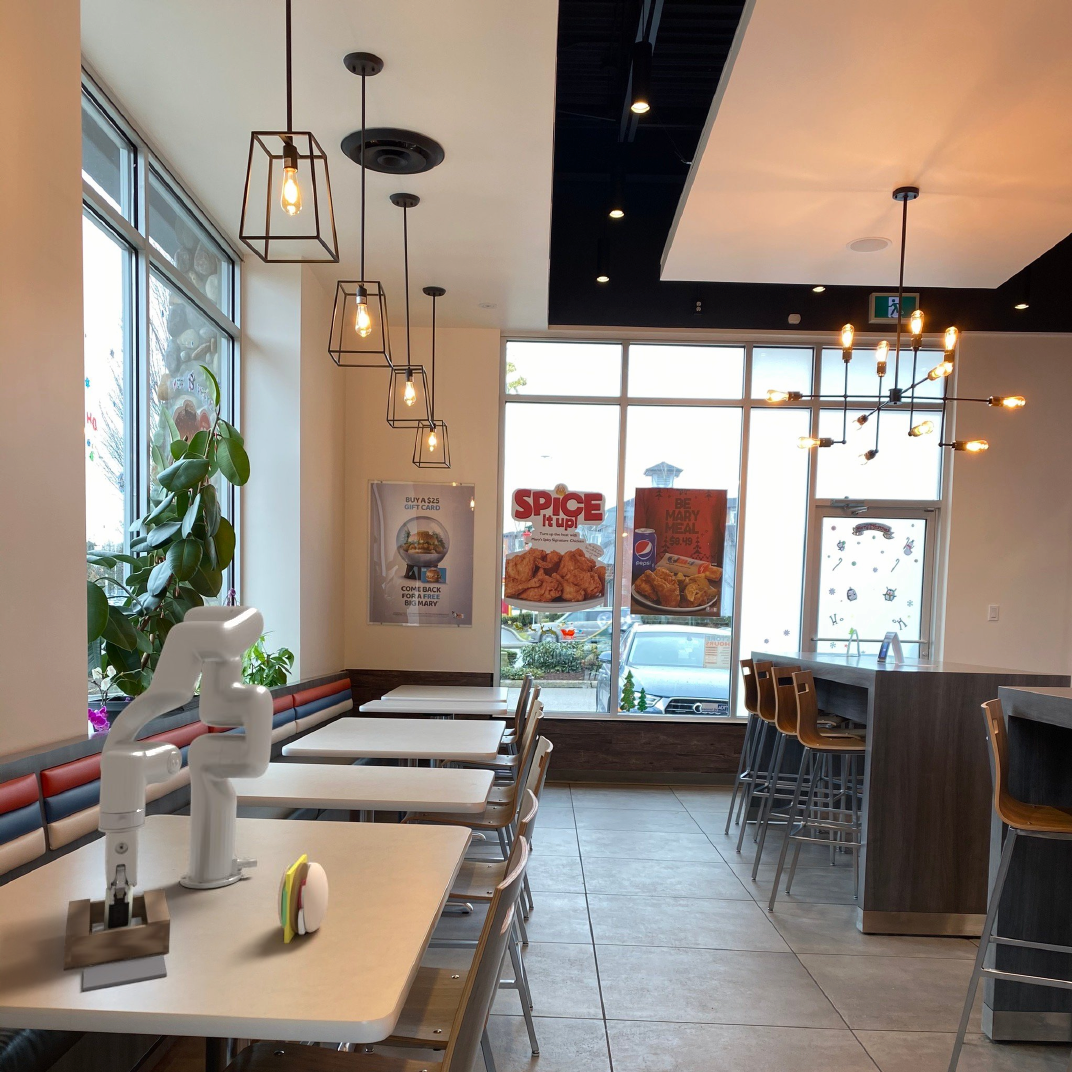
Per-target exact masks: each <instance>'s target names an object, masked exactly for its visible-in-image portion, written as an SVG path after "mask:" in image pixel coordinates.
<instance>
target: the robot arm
mask: <svg viewBox="0 0 1072 1072" xmlns="http://www.w3.org/2000/svg"><path fill="white" fill-rule="evenodd" d="M264 621H265V620H264V617H263V615H262V613H261V611H260V610H259V609H258V608H256V607H254V606H246V605H202V606H195V607H192V608H190V609H188V610H187V611H186V612H185V614H184V617H183V622H179V623H176V624H175V625H173V626H172V627H171V628H170V630H169V631H168V634H167V635H166V638H165V641H164V644H163V646H162V650H161V652H160V656H159V658H158V660H157V664H156V667H155V669H154V672H153V675H152V678H151V681H150V684H149V686H148V687H147V689H145V690H144V691H143V692H142V693H141V694H140V695H137V696H136V697H135V698H134V699H133V700H132V701H131V702H130V703H129V704H128V705H126V706H125V707H124V709H123V710H122V711H121V712H120V713H119V714H118V715H117V717H116V718H115V719H114V721H113V723H112V724H111V726H110V730H109V732H108V733H107V737H106V740H105V742H104V744H103V748H102V751H101V755H100V762H99V766H100V767H99V768H100V790H99V808H98V809H99V811H98V829H97V830H98V831H99V832H102V833H105V843H104V845H105V847H104V865H105V866H104V868H105V869H104V870H105V880H106V881H105V882H106V888H108V889H109V890H111V904H109V913H108V928H109V929H112V928H119V927H126V926H128V922H129V902H128V888H129V885H130V886H131V885H133V888H135V887H136V886H137V885H138V866H139V865H138V862H139V830H140V829H142V828H144V827H145V823H146V801H147V800H146V798H147V786H148V785H153V784H161V783H165V782H168V781H170V780H171V779H173V778H174V777H175V776H176V775H178V773H179V772H180V770H181V767H182V764H183V763H182V762H183V756H182V752H181V750H180V749H179V748H178V746H176V745H175V744H173V743H170V742H166V741H165V742H164V741H162V742H161V741H146V740H145V741H144V740H143V741H140V740H139V741H137V740H136V741H135V738H136V736H137V735H138V733H139V731H140V730H141V729H142V728H143V727H144V726H145V725H147V724H148V723H149V722H150V721H151V720H154V719H155V718H157V717H159V716H161V715H163V714H166V713H168V712H170V711H172V710H176V709H177V708H180V707H182V706H184V705H186V704H188V703H189V702H190V701H191V700H192V699H193V697H194V695H195V692H196V689H197V685H198V683H199V679H200V687H199V688H200V690H199V691H200V693H199V704H198V705H199V707H198V715H199V719H200V721H201V723H203V724H204V725H205V726H208V727H214V728H243V729H244V732H245V733H230V732H229V733H228V732H223V733H222V732H213V733H212V732H211V733H204V734H201V735H199V736H197V737H195V738H194V739H193V740H192V741H191V743H190V745H189V747H188V750H187V766H188V770H189V771H188V772H189V778H190V820H189V821H190V823H189V842H188V843H189V844H188V845H189V849H188V870H187V872H184V873H183V874H181V876H180V878H179V882H180V885H182V886H183V887H186V888H189V889H203V890H204V889H214V888H221V887H225V886H228V885H231V884H234V883H236V882H238V881H239V880H240V879H241V878H242V876H243V875H242V874H243V873H242V872H243V871H242V870H243V869H246V868H247V869H250V868H257V867H258V859H257V857H252V858H250V857H249V856H246V857H240V858H239V857H238V856H237V854H236V834H237V833H236V830H237V807H238V803H237V801H238V798H237V796H238V795H237V793H236V790H235V787H234V786H233V784H232V782H231V780H230V779H256V778H259V777H260V778H261V777H262V776H264V774H266V772H267V770H268V767H269V764H270V760H271V752H272V750H271V749H272V737H273V720H274V702H273V701H274V700H273V697H272V694H271V691H270V690H269V689H268V688H267V687H266V686H264V685H262V684H257V683H256V684H254V683H251V684H249V683H246V684H245V683H243V682H242V672H243V671H242V670H243V661H242V658H241V655H243V654H244V653H245V652H246V651H248V650H249V649H250V648H251V647H253V646H254V645H256V643H257V642H258V641H259V639H260V638H261V637H262V634H263V631H264V623H265V622H264ZM200 676H201V678H200ZM115 884H117V885H115ZM128 884H129V885H128ZM114 885H115V886H114ZM114 891H116V892H115V893H114Z"/></svg>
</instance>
